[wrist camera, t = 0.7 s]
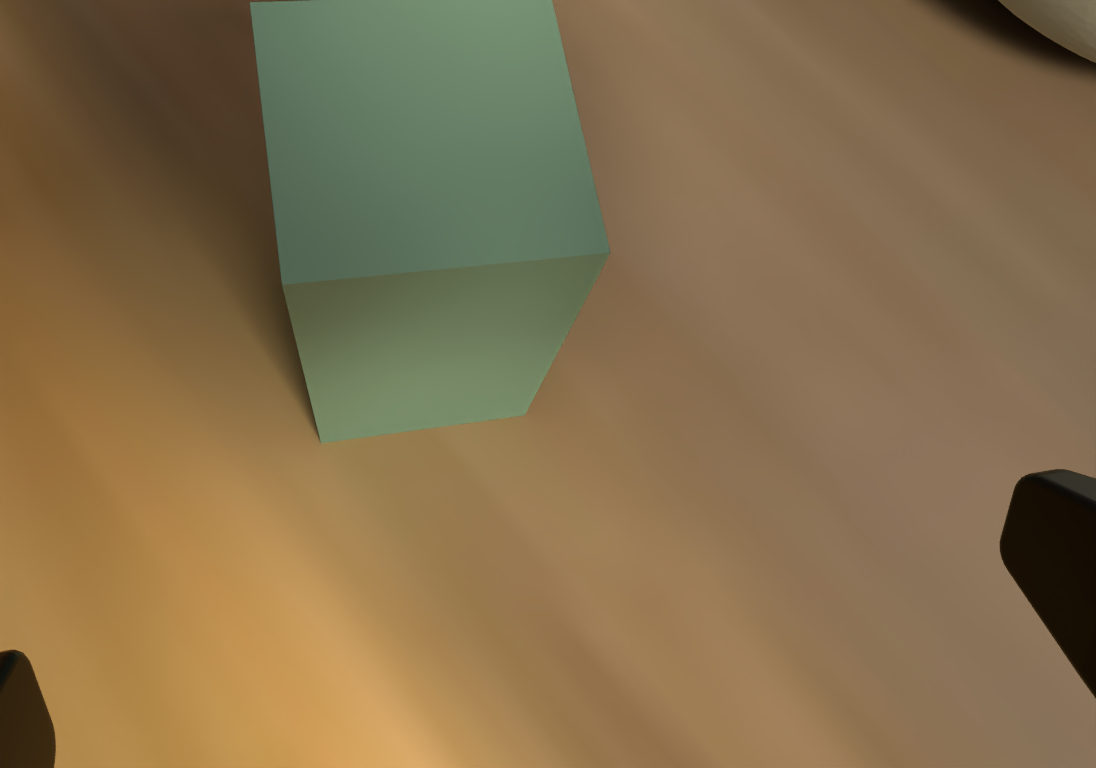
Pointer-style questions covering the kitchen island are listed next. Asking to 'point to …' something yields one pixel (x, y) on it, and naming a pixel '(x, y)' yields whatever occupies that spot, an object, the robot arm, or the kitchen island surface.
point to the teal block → (425, 204)
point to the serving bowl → (1061, 22)
